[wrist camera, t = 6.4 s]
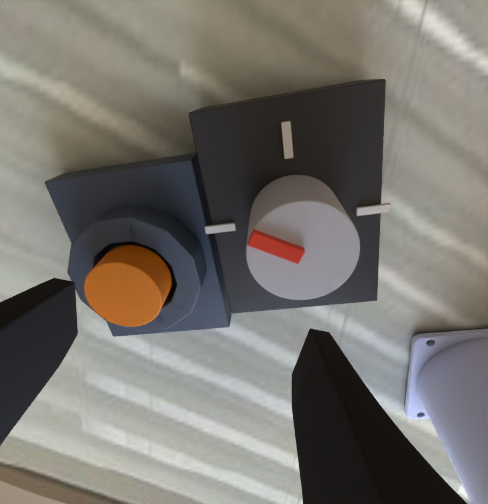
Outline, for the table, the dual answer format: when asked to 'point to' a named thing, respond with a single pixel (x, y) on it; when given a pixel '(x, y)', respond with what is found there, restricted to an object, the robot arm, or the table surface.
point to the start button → (128, 286)
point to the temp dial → (300, 239)
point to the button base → (148, 234)
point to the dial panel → (294, 163)
